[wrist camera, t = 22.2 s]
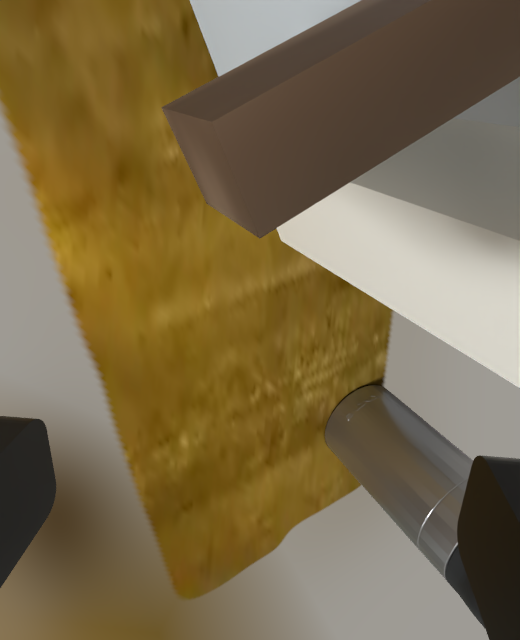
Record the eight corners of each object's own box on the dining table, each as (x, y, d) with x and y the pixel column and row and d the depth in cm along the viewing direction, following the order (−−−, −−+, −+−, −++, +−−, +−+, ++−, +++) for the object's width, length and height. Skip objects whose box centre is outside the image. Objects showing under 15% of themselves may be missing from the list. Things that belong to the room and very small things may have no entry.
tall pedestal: (369, 185, 39) (1035, 409, 14) (281, 240, 38) (862, 600, 13) (347, 87, 34) (1294, 171, 10) (245, 146, 33) (1067, 429, 8)
